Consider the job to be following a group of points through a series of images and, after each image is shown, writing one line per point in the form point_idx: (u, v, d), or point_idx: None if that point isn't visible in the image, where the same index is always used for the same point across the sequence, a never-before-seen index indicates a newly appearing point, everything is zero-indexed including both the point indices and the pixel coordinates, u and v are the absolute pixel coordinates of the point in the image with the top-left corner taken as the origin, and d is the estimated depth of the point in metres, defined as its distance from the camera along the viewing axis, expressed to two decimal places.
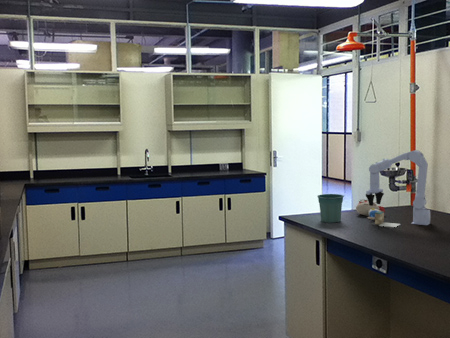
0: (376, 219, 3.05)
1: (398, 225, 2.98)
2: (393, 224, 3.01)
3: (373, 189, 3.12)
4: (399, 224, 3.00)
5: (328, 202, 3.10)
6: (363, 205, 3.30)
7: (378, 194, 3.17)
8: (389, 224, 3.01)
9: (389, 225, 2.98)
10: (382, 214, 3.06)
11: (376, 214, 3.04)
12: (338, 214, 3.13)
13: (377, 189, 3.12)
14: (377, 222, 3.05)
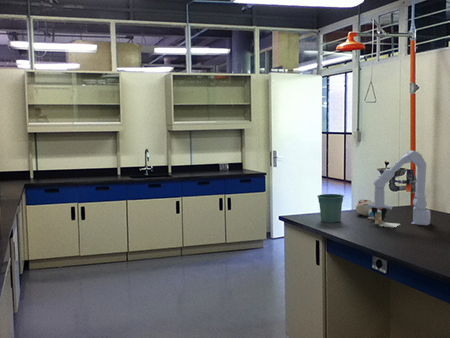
0: (376, 219, 3.05)
1: (398, 225, 2.98)
2: (393, 224, 3.01)
3: None
4: (399, 224, 3.00)
5: (328, 202, 3.10)
6: (363, 205, 3.30)
7: None
8: (389, 224, 3.01)
9: (389, 225, 2.98)
10: None
11: (376, 214, 3.04)
12: (338, 214, 3.13)
13: (376, 204, 3.04)
14: (377, 222, 3.05)
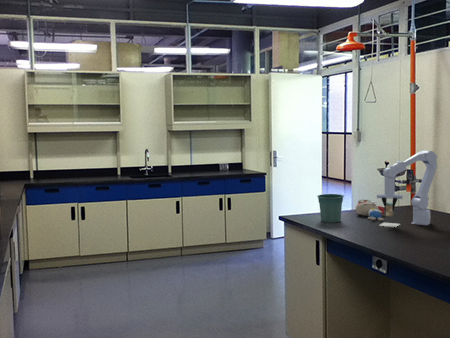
0: (387, 211, 2.98)
1: (398, 225, 2.98)
2: (393, 224, 3.01)
3: None
4: (399, 224, 3.00)
5: (328, 202, 3.10)
6: (363, 205, 3.30)
7: None
8: (389, 224, 3.01)
9: (389, 225, 2.98)
10: (392, 205, 2.99)
11: (387, 206, 2.97)
12: (338, 214, 3.13)
13: (387, 194, 2.97)
14: (388, 214, 2.98)
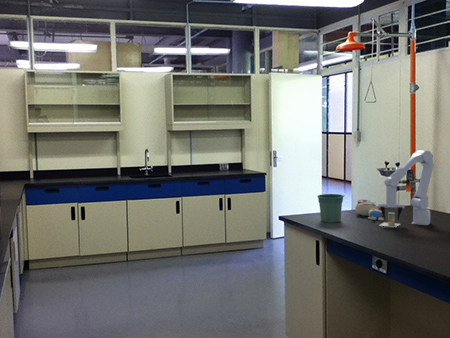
0: (389, 221, 2.97)
1: (398, 225, 2.98)
2: None
3: (386, 203, 2.99)
4: (399, 224, 3.00)
5: (328, 202, 3.10)
6: (363, 205, 3.30)
7: None
8: None
9: None
10: (394, 215, 2.99)
11: (389, 215, 2.97)
12: (338, 214, 3.13)
13: (389, 203, 2.97)
14: (390, 224, 2.97)
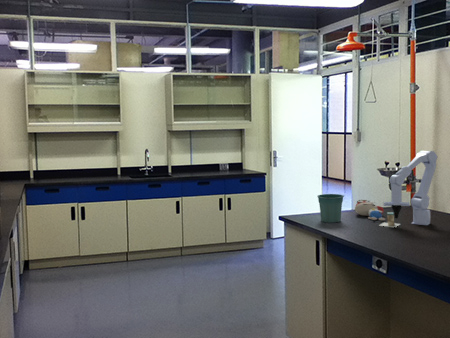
0: (389, 221, 2.97)
1: (398, 225, 2.98)
2: None
3: (391, 201, 2.97)
4: (399, 224, 3.00)
5: (328, 202, 3.10)
6: (362, 205, 3.29)
7: (396, 207, 2.97)
8: None
9: None
10: (393, 215, 2.99)
11: (388, 215, 2.97)
12: (338, 214, 3.13)
13: (395, 201, 2.95)
14: (390, 223, 2.97)
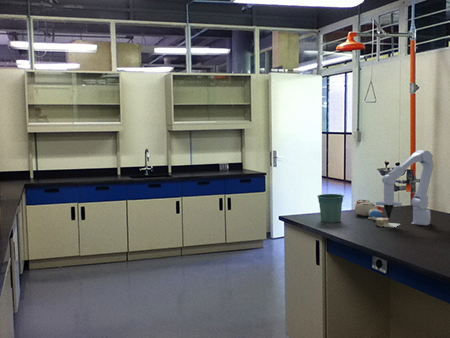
0: (383, 224, 2.98)
1: (398, 225, 2.98)
2: (393, 224, 3.01)
3: (384, 200, 3.00)
4: (399, 224, 3.00)
5: (328, 202, 3.10)
6: (362, 205, 3.29)
7: None
8: (389, 224, 3.01)
9: (389, 225, 2.98)
10: (378, 218, 3.02)
11: (377, 223, 2.99)
12: (338, 214, 3.13)
13: (386, 201, 2.97)
14: (386, 223, 2.98)
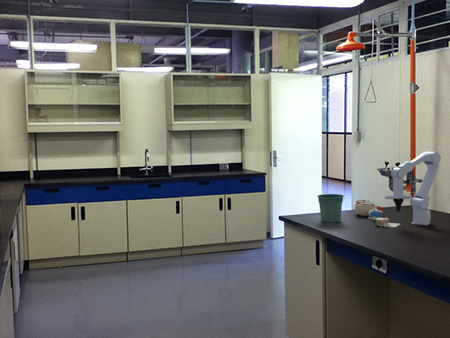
0: (383, 224, 2.98)
1: (398, 225, 2.98)
2: (393, 224, 3.01)
3: (393, 194, 2.96)
4: (399, 224, 3.00)
5: (328, 202, 3.10)
6: (362, 205, 3.29)
7: (398, 200, 2.96)
8: (389, 224, 3.01)
9: (389, 225, 2.98)
10: (378, 218, 3.02)
11: (377, 223, 2.99)
12: (338, 214, 3.13)
13: (397, 195, 2.94)
14: (386, 223, 2.98)
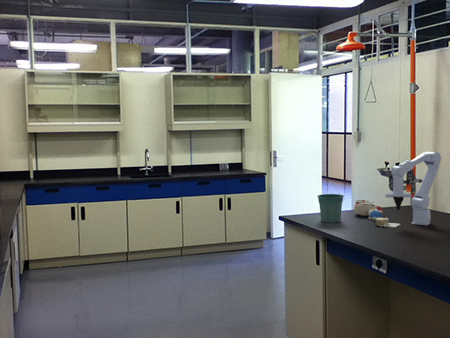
0: (383, 224, 2.98)
1: (398, 225, 2.98)
2: (393, 224, 3.01)
3: (393, 192, 2.95)
4: (399, 224, 3.00)
5: (328, 202, 3.10)
6: (362, 205, 3.29)
7: (398, 199, 2.96)
8: (389, 224, 3.01)
9: (389, 225, 2.98)
10: (378, 218, 3.02)
11: (377, 223, 2.99)
12: (338, 214, 3.13)
13: (397, 193, 2.94)
14: (386, 223, 2.98)
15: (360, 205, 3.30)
